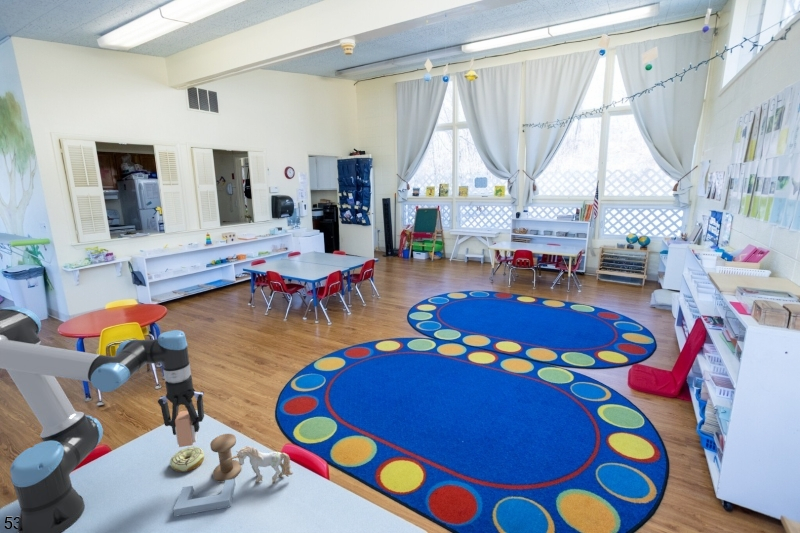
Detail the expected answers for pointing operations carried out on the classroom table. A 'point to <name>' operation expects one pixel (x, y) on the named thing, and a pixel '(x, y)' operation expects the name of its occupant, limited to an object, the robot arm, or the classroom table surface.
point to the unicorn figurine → (265, 461)
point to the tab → (184, 429)
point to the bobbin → (225, 458)
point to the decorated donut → (187, 459)
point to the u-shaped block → (204, 500)
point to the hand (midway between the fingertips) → (187, 440)
